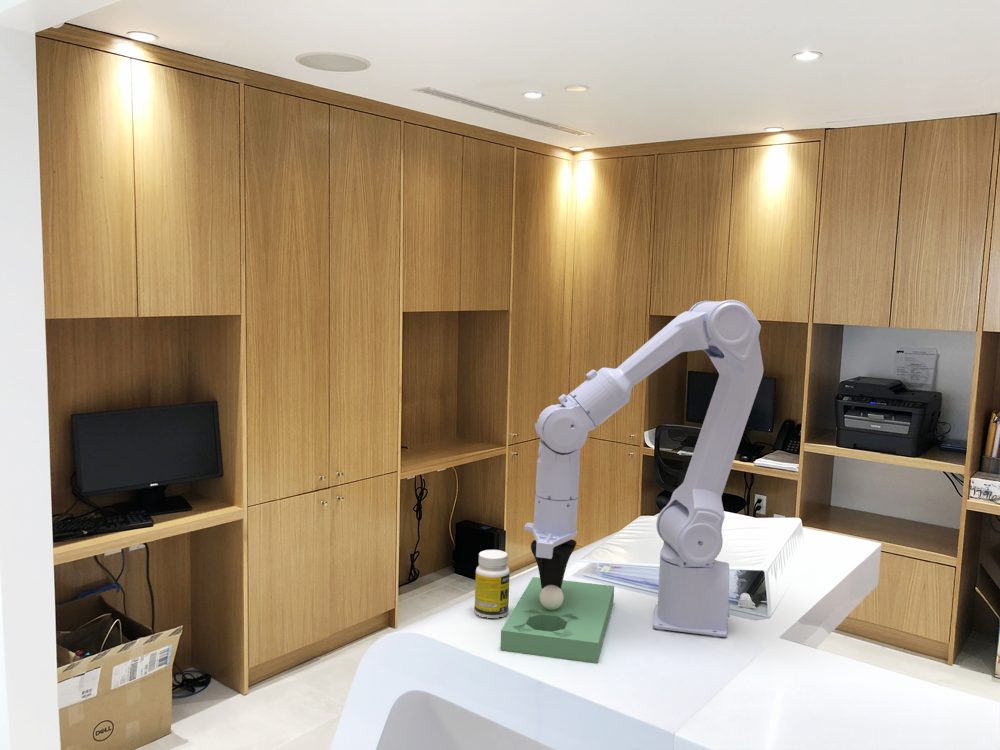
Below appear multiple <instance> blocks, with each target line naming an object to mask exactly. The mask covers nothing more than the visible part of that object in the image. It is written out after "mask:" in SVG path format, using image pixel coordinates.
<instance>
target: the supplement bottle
mask: <svg viewBox="0 0 1000 750" xmlns="http://www.w3.org/2000/svg"><path fill="white" fill-rule="evenodd" d="M508 557H509V555H508V553H507V552H506V551H503V550H500V549H485V550H482V551H480V552H479V553H478V565H477V567H476V569H475V580H474V581H475V585H474V589H475V591H474V613H475V615H477V616H478V615H480V616H483V617H487V618H486V619H488V618H497V619H500V618H499V617H502V618H505V617H507V615H508V614H509V605H510V604H509V603H510V600H509V596H510V576H511V575H510V574H511V573H510V568H509V567H508V562H509V560H508ZM480 616H479V617H480Z"/></svg>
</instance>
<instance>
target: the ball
mask: <svg viewBox="0 0 1000 750" xmlns="http://www.w3.org/2000/svg"><path fill="white" fill-rule="evenodd" d="M563 599H564V596H563V592H562V591H561V589H560V588H559V587H557V586H555V585H548V586H545V587H544V588H543V589H542V590H541V592H540V602H541V604H542V605H543V606H544V607H545V608H546V609H549V610H555V609H557V608H559V607H560V606H561V605H562V603H563Z"/></svg>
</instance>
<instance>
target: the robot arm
mask: <svg viewBox="0 0 1000 750" xmlns="http://www.w3.org/2000/svg"><path fill="white" fill-rule="evenodd" d="M761 329H762V326H761V324H760V322H759V321H758V319H757V318H756V316H755V314H754V313H753V311H752V310H751V309H750V308H749V306H748V305H747V304H746V303H743V302H741V301H739V300H736V299H728V300H722V301H713V300H703V301H702V300H701V301H699V302H696V303H695V304H694V305H692V306H691V307H690V308H689V310H688V311H683V312H682V313H680V314H678V315H677V316H676V317H674V319H672V320H671V321H670V322H669V323H667V325H665V326H664V327H663V328H662V329H661V330H659V331H658V332H656V334H655V335H653V336H652V337H651V338H650V339H649V340H648V341H646V342H645V343H644V344H643V345H642V346H640V348H638V349H637V350H636V351H635V352H633V354H631V355H630V356H629V357H628V358H626V359H625V360H624V361H623V362H622V363H621V364H619V365H618V366H617V367H616V368H612V367H601V368H600V369H598V370H595V369H591V370H590V371H588V372H587V373H586V374H585V377H586V378H587V379H586V380H584V382H582V383H581V384H580V385H578V386H577V387H576V388H575V389H573V390H572V391H570V392H569V393H568V394H567V395H566V394H564V393H563V394H562V395H560V396H559V397H558V401H559V402H560V404H559V403H556V404H551V405H549V406H547V407H545V408H544V409H543V410H542V411H541V412H540V414H539V416H538V419H537V420H536V421H537V422H535V423H534V426H535V427H534V428H535V432H536V434H537V436H538V438H539V439H540V441H539V445H538V446H539V447H538V449H537V450H538V451H537V452H538V458H537V461H536V476H535V491H534V493H535V494H534V514H533V522H526V523H525V525H524V531H525V532H530V533H532V535H533V537H534V540H532V542H531V543H530V550H531V552H532V555H533V557H534V559H535V561H536V564H537V565H536V566H537V568H538V575H539V578H540V581H541V588H542V589H543V588H544V587H545V586H548V585H555V586H557V587H559V588H560V589H561V586H562V582H563V580H564V578H565V577H564V576H565V573H566V570H567V566H568V563H569V560H570V557H571V556H572V554H573V552H574V550H575V548H576V546H577V541H576V540H575V538H576V537H577V536H578V528H577V521H578V506H579V490H580V489H579V486H580V473H581V470H580V469H581V462H580V461H581V459H580V458H581V456H580V455H581V448H582V447H584V445H585V444H586V442H587V439H588V436H589V435H588V434H589V432H591V431H594V430H595V429H596V428H598V427H599V426H600V425H602V423H604V422H605V421H607V420H608V419H609V418H610V417H612V416H613V415H614V414H615V413H617V412H618V411H619V410H621V409H622V408H623V407H624V406H625V405H626V404H628V403H629V402H630V400H631V394H632V391H633V390H632V389H633V388H634V386H636V385H637V384H639V383H640V382H642V381H643V380H644V379H646V378H647V377H648V376H651V374H653V373H654V372H655V371H657V370H658V369H660V368H661V367H662V366H664V365H665V364H667V363H668V362H669V361H671V360H672V359H674V358H675V357H676V356H678V355H679V354H681V353H685V352H695V351H703V352H705V353H706V355H707V356H708V357H709V359H710V361H711V362H712V364H713V366H714V368H715V369H716V370H717V372H718V378H717V381H716V385H715V387H714V391H713V392H712V393H713V394H712V395H711V399H710V402H709V405H708V408H707V410H706V414H705V417H704V420H703V424H702V426H701V429H700V432H699V435H698V438H697V441H696V444H695V447H694V450H693V453H692V456H691V459H690V462H689V465H688V467H687V470H686V474H685V477H684V479H683V482H682V483H681V484H680V485H678V487H677V488H676V489H675V490H673V492H672V494H671V497H670V500H669V501H668V502H667V504H666V506H664V507H663V508H662V509H661V511H659V514H658V516H657V518H656V524H655V525H656V531H657V534H658V536H659V537H660V539H661V540H662V541H663V544H662V545H663V546H662V548H661V549H660V552H659V572H658V573H659V574H658V595H657V604H655V608H654V615H653V621H652V625H653V626H652V627H653V628H654V629H655V630H656V629H657V630H663V631H664V630H665V631H673V632H681V633H689V634H698V635H705V636H711V637H712V636H713V637H720V638H721V637H722V638H723V637H724V638H726V637H728V619H729V617H730V614H731V613H730V611H731V609H730V607H731V605H730V603H729V601H730V600H729V597H730V563H729V562H726V561H722V560H721V561H720V560H717V558H718V557H719V555H720V553H721V551H722V549H723V542H724V541H723V540H724V539H723V532H722V531H723V523H724V520H725V510H724V506H723V505H724V504H723V501H722V496H723V493H724V490H725V487H726V484H727V481H728V479H729V475H730V472H731V469H732V466H733V464H734V461H735V458H736V455H737V452H738V449H739V446H740V443H741V441H742V437H743V435H744V431H745V428H746V426H747V422H748V420H749V416H750V414H751V411H752V409H753V405H754V402H755V399H756V396H757V393H758V391H759V387H760V385H761V382H762V379H763V375H764V363H763V358H762V352H761V345H760V338H759V336H760V334H761V333H760V332H761Z"/></svg>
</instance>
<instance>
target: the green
mask: <svg viewBox="0 0 1000 750" xmlns="http://www.w3.org/2000/svg"><path fill="white" fill-rule="evenodd" d="M541 590H542V588H541V581H540V577H537V576H532V578H531V579H530V582H529V583H528V585H527V586H526V588H525V590H524V591H523V593H522V595H521V596H520V597H519V599H518V601H517V603H516V605H515V606H514V607H513V610H512V611H511V613H510V615H509V616H508V618H507V619H506V622H505V623H504V625H503V627H502V628H501V630H500V649H501V650H500V651H505V650H507V651H506V652H512V651H513V653H522V654H526V655H527V654H529V655H536V656H542V657H549V658H557V659H564V660H572V661H578V662H579V661H580V662H586V663H594V664H598V663H599V658H600V655H601V651H602V647H603V644H604V640H605V637H606V632H607V628H608V626H609V621H610V618H611V613H612V610H613V606H614V597H615V586H614V585H608V584H600V583H591V582H581V581H574V580H573V581H572V580H564V579H563V582H562V586H561V591H562V592H563V596H564V599H563V603H562V605H561V606H560V607H559V608H557V609H555V610H549V609H546V608H545V607H544V606H543V605H542V604H541V602H540V592H541Z"/></svg>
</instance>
